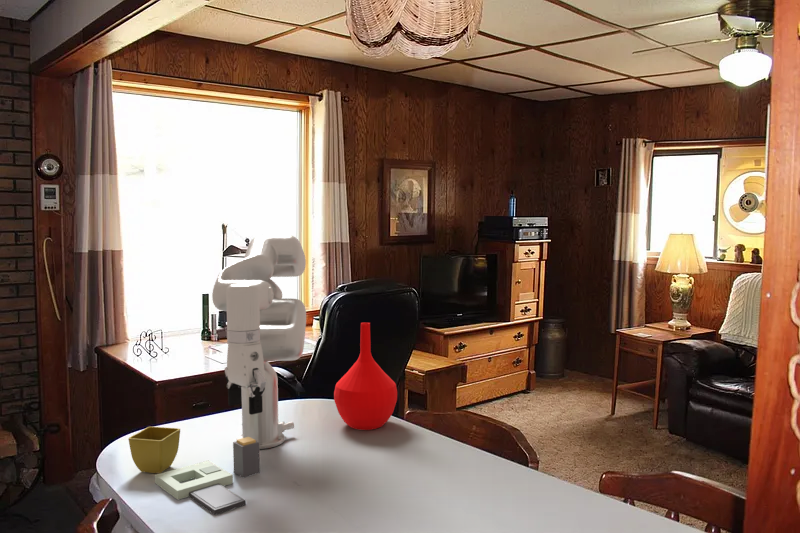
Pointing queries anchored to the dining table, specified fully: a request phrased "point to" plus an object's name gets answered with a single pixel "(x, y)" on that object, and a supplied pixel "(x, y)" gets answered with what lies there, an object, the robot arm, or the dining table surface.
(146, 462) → the flower pot
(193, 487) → the outlet plate
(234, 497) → the phone slab
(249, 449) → the block
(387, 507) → the dining table surface
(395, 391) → the vase
